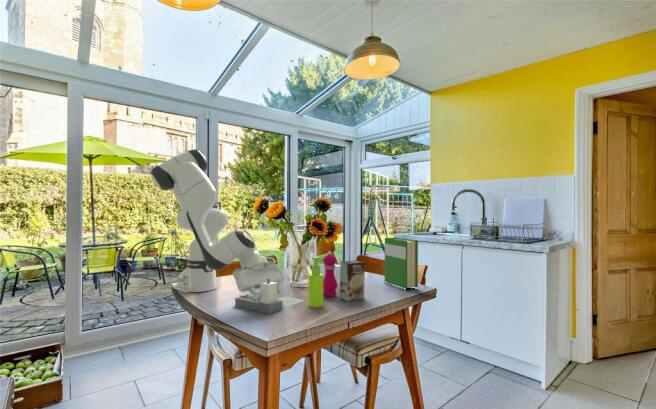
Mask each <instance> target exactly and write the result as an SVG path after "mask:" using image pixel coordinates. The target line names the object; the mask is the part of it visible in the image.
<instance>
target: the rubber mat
mask: <svg viewBox="0 0 656 409" xmlns="http://www.w3.org/2000/svg"><path fill="white" fill-rule="evenodd" d="M277 300H280V301H283V307H286V308H289V307H290V308H291V307H293V306H295V305H297V304H301V303H302V302H304V301H306V299H300V298H295V297H291V296H282V297H279V298H278V297H277Z"/></svg>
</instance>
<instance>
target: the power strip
mask: <svg viewBox="0 0 656 409" xmlns="http://www.w3.org/2000/svg"><path fill="white" fill-rule="evenodd" d="M234 299H235V301H234V304H235V305H234V306H235V307H239V308H243V309H247V310H251V311H255V312H260V313H263V314H268V315H271V314H274V313H277V312H279V311H281V310H283V309H284V308H283V307H284V306H283V301H280V300H277V302H274V303H272V304H264V303H260V299H256V298H255V296H254V295H252V294H251V293H248V294H247V293H244V294H241V295H240V296H237V297H235V298H234Z"/></svg>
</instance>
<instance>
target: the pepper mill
mask: <svg viewBox="0 0 656 409" xmlns="http://www.w3.org/2000/svg"><path fill="white" fill-rule="evenodd" d="M323 257H325V258H324V259H323V258H322V263H323V264H324V265H323V269H324V272H325V273H324V276H323V297H326V298H332V297H334V298H335V297H336V296H337V291H336V290H337V289H338V281H337V279H336V276H335V269H336V265H335V264H336V263H337V257H336V256H335V255H333V254H332V251H330V250H329V251H328V252H327V254H326V255H324V256H323Z"/></svg>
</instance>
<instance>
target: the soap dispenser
mask: <svg viewBox="0 0 656 409" xmlns="http://www.w3.org/2000/svg"><path fill="white" fill-rule="evenodd" d="M324 258H325V257H324V256H319V255H318V256H313V257H312V258H311V259H312V260H313V265H311V273H309V274H308V287H307V288H308V293H307V294H308V296H307V297H308V301H307V302H308V304H307V305H308V307H310V308H321V307H323V306H324V296H323V291H324V290H323V279H324V274H323V273H321V265H320V264H319V259H322V260H323V259H324Z"/></svg>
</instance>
